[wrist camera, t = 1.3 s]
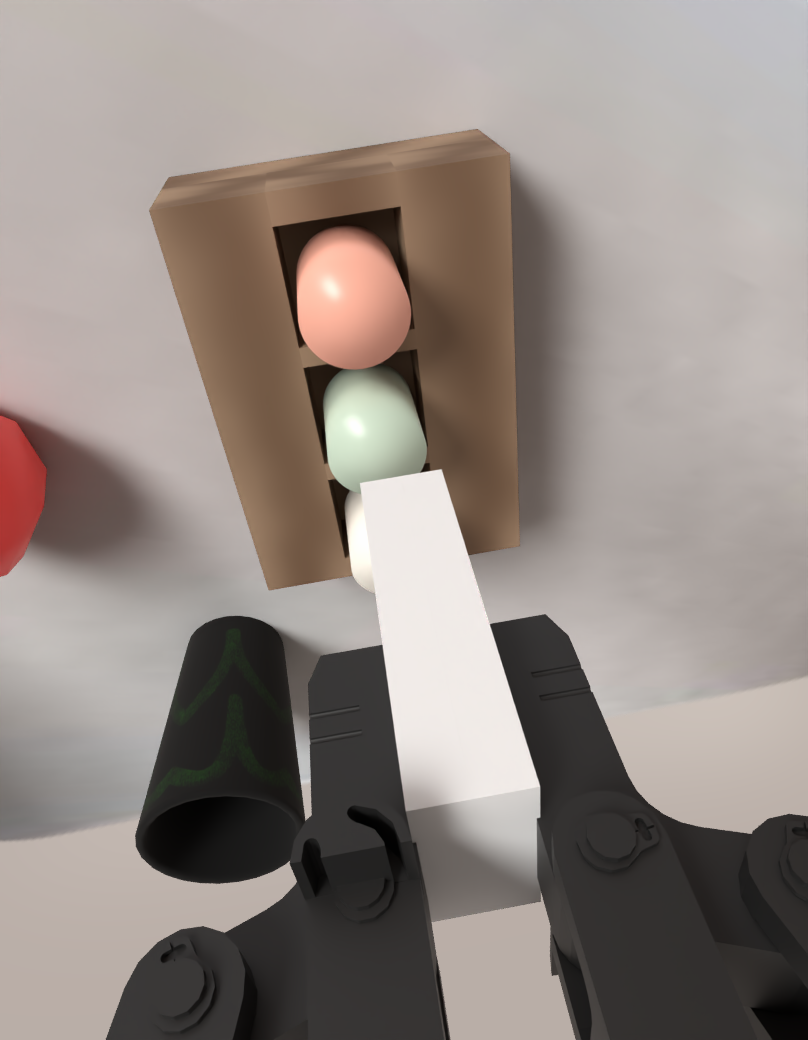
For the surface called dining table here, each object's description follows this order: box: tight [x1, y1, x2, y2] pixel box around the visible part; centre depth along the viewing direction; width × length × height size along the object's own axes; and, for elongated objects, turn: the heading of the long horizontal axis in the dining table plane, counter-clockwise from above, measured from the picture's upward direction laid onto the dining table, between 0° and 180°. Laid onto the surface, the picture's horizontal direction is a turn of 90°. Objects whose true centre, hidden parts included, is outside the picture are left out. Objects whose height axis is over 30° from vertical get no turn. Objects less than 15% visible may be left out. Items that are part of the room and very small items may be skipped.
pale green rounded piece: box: [323, 363, 427, 494], centre depth 28 cm, size 4×4×4 cm
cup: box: [135, 616, 305, 884], centre depth 38 cm, size 8×8×12 cm
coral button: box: [296, 224, 411, 370], centre depth 25 cm, size 4×4×4 cm
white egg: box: [344, 490, 375, 593], centre depth 31 cm, size 4×4×4 cm
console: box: [149, 129, 520, 590], centre depth 31 cm, size 12×17×5 cm
